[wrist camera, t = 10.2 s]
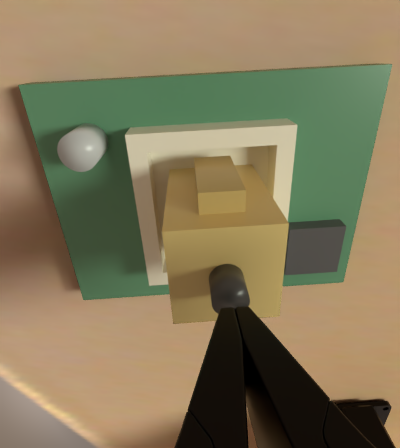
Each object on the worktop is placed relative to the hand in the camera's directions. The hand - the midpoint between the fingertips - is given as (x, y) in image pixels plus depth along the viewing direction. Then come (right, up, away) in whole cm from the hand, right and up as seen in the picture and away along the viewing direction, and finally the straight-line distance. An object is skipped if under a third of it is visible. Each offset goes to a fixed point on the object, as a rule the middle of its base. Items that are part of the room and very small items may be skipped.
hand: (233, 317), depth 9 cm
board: (-1, +4, +8) cm, 9 cm away
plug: (0, +4, +7) cm, 8 cm away
